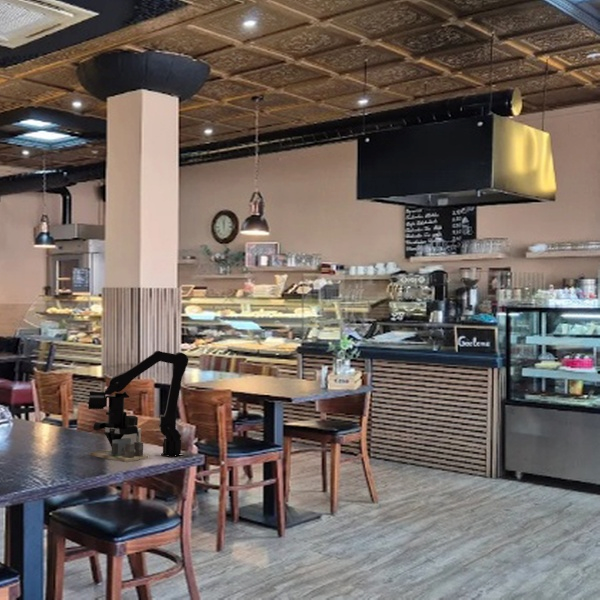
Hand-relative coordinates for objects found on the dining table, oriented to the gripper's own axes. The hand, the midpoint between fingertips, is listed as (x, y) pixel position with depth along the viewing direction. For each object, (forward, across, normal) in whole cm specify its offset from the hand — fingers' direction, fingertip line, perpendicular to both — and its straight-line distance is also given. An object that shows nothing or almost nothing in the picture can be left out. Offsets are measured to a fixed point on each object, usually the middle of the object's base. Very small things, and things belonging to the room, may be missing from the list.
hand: (114, 450), depth 300 cm
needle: (0, -5, +5) cm, 7 cm away
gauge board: (+2, -2, 0) cm, 3 cm away
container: (+2, +10, -16) cm, 19 cm away
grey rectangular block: (+1, -7, +1) cm, 7 cm away
